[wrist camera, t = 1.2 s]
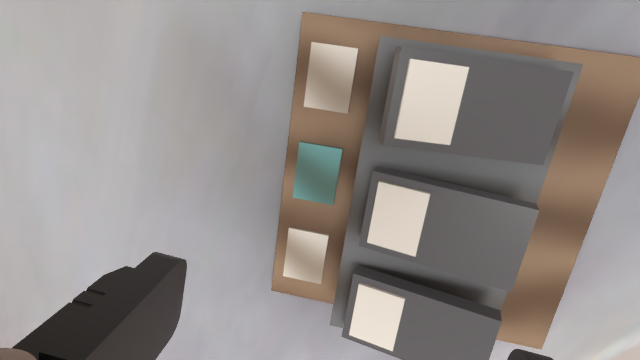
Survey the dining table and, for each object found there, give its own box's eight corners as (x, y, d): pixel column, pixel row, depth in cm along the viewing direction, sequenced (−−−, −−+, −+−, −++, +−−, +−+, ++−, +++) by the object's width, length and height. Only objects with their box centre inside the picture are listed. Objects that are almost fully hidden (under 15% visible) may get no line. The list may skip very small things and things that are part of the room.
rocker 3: (361, 260, 27) (352, 274, 25) (500, 303, 25) (501, 323, 23) (350, 320, 29) (340, 338, 27) (479, 367, 26) (478, 391, 24)
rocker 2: (380, 163, 25) (371, 171, 23) (534, 199, 22) (539, 211, 20) (366, 234, 27) (357, 247, 25) (509, 275, 24) (511, 293, 22)
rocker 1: (392, 46, 21) (402, 46, 19) (550, 69, 22) (576, 71, 20) (376, 137, 23) (383, 146, 21) (523, 155, 24) (545, 166, 21)
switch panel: (305, 13, 28) (288, 4, 23) (643, 59, 25) (702, 59, 20) (274, 283, 34) (256, 319, 30) (536, 340, 32) (562, 389, 27)
